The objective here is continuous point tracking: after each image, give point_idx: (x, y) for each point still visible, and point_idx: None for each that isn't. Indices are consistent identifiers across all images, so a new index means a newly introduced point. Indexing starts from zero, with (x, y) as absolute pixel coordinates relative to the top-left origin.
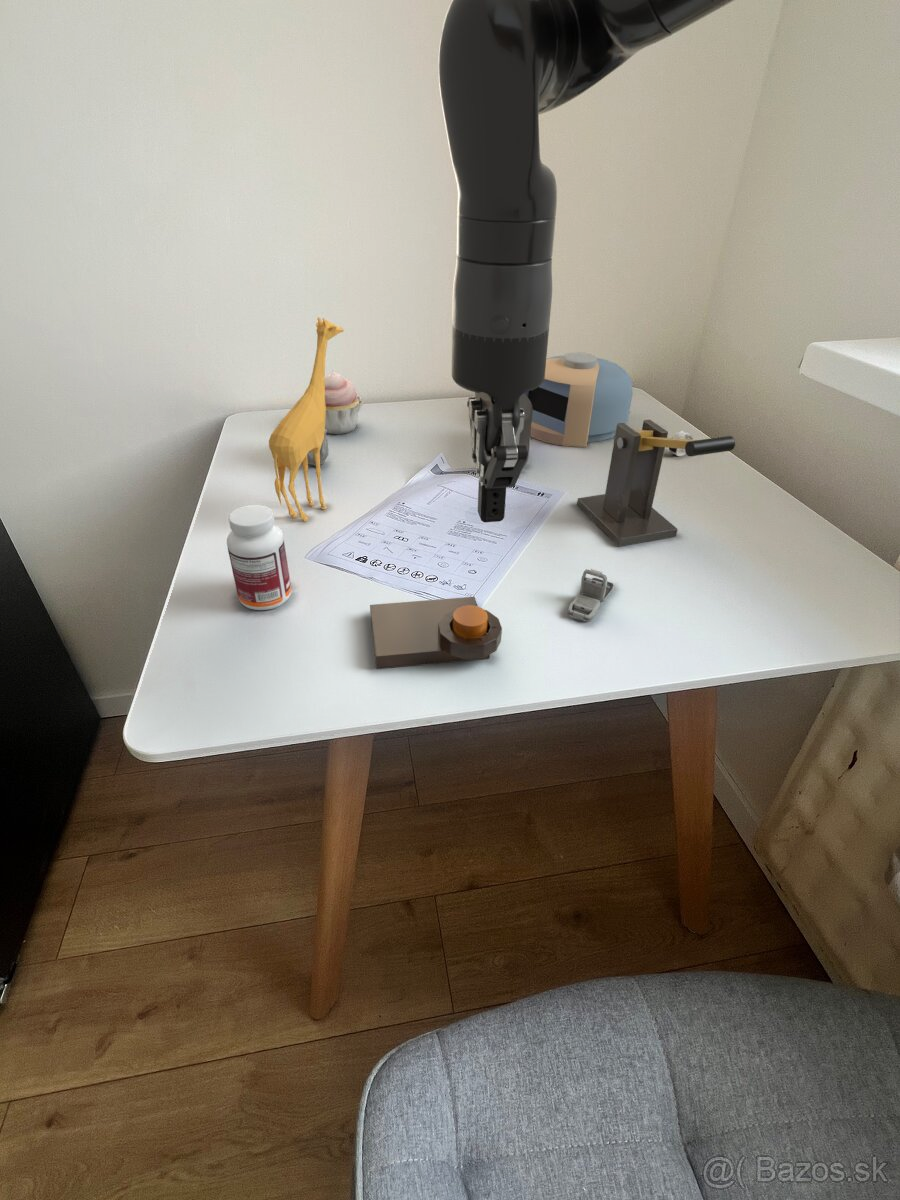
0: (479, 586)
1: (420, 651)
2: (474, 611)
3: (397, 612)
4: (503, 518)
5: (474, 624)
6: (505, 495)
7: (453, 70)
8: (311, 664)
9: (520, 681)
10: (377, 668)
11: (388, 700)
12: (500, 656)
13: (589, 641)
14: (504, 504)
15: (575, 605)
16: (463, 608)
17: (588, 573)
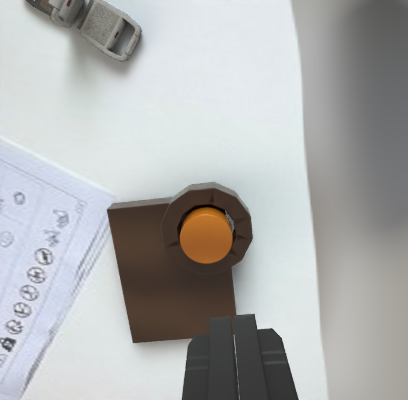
0: (57, 190)
1: (231, 285)
2: (196, 233)
3: (149, 311)
4: (254, 314)
5: (228, 235)
6: (262, 365)
7: None
8: None
9: (269, 156)
10: None
11: (289, 309)
12: (218, 176)
13: (187, 38)
14: (258, 343)
15: (110, 46)
16: (188, 248)
17: (59, 11)
